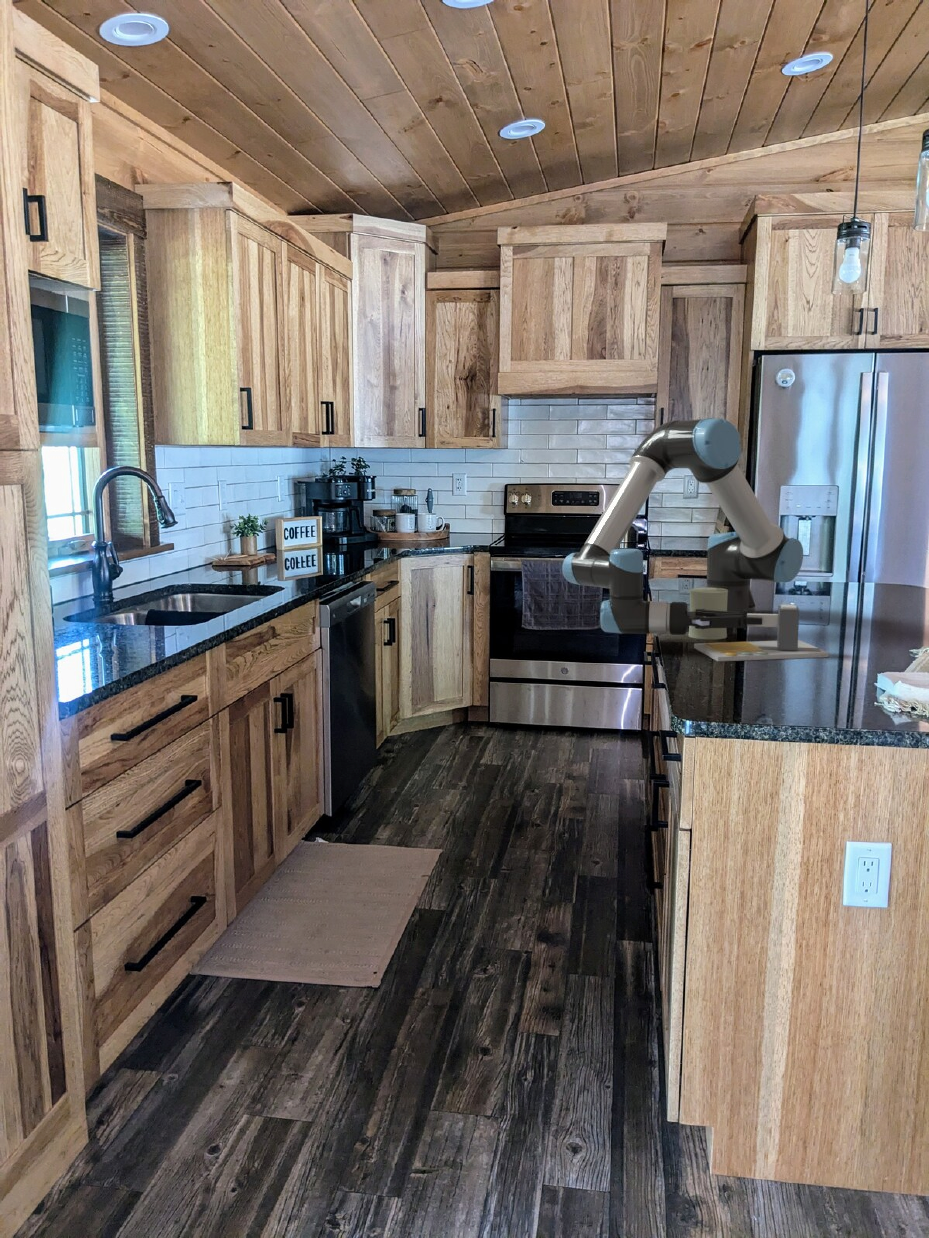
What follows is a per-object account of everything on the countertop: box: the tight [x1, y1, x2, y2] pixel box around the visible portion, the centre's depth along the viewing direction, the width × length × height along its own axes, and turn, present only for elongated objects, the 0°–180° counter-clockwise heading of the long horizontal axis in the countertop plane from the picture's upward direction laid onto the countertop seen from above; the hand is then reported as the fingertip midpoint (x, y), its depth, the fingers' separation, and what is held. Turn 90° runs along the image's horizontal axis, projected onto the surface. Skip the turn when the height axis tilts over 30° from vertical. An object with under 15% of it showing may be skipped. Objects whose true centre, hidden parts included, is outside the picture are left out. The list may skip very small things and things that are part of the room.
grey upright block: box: [776, 604, 800, 650], centre depth 210 cm, size 4×5×9 cm
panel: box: [694, 639, 830, 662], centre depth 213 cm, size 25×15×1 cm, turn 96°
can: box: [688, 587, 728, 641], centre depth 232 cm, size 9×9×12 cm
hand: (777, 620), depth 210 cm, fingers closed
